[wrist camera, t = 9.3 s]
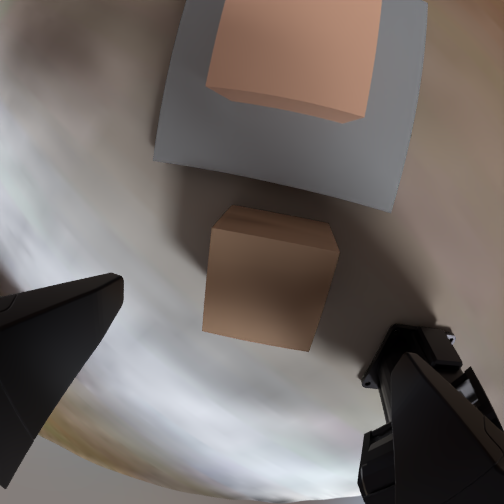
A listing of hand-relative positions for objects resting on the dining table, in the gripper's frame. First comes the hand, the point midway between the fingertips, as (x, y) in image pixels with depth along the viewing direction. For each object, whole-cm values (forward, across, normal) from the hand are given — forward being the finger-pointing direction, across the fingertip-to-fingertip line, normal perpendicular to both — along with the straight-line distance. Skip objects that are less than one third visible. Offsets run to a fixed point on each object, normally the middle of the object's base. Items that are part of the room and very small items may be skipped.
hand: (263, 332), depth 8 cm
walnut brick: (+11, 0, +2) cm, 11 cm away
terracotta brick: (+9, +2, -10) cm, 13 cm away
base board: (+11, +2, -10) cm, 15 cm away
